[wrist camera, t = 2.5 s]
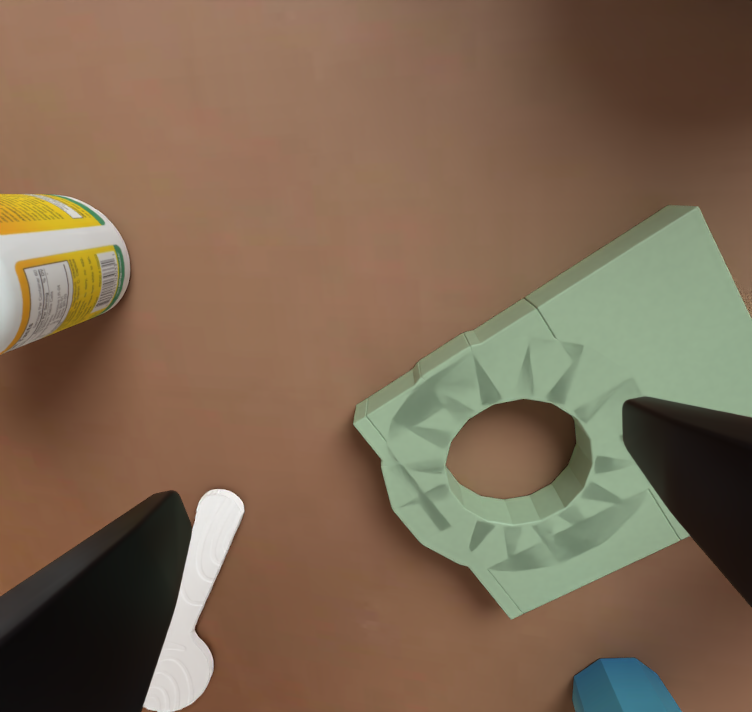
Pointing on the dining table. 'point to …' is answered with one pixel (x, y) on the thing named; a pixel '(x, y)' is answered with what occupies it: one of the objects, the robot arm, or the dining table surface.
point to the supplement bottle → (55, 266)
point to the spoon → (194, 605)
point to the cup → (620, 688)
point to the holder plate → (569, 409)
